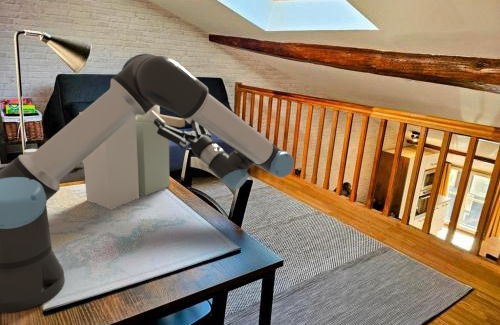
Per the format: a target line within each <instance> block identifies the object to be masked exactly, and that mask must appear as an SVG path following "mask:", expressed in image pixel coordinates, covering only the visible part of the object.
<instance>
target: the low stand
mask: <svg viewBox="0 0 500 325" xmlns="http://www.w3.org/2000/svg"><path fill="white" fill-rule="evenodd" d="M165 125H166V124H165ZM168 126H170V125H168ZM158 129H159V128H158V127H157V126H156V125H155V124H154V123H153V122H140V121H137V118H136V138H137V161H138V184H139V195H142V196H148V195H151V194H153V193H156V192H157V191H161V190H164V189H166V188H168V187H170V186H171V185H170V140H168V139H166V138H164V137H163V136H161V135H159V134H157V131H158Z"/></svg>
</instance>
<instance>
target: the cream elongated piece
mask: <svg viewBox="0 0 500 325" xmlns="http://www.w3.org/2000/svg"><path fill="white" fill-rule="evenodd" d="M152 110H153V111H154V112H155V113H156V114H157V115H158V116H159V117H160V118H161V119H162V120H163V121H165V122H166V125H169V126H170V127H175V128H183V127H185V126H186V125H185V124H186V120H185V119H183V118H182V117H176V116H171V115H164V114H161V109H160V106H158V105H155V106H154V107H152V108H151V109H150V110H149V111H148V112H147V113H146V114H144V115H136V118H137V121H140V122H153V121H152V120H151V119H150V118H149V115H150V112H151V111H152Z"/></svg>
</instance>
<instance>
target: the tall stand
mask: <svg viewBox="0 0 500 325" xmlns="http://www.w3.org/2000/svg"><path fill="white" fill-rule="evenodd" d="M82 112H83V111H79V112H78V113H79V114H80V113H82ZM79 114H78V115H79ZM83 161H84V167H83V170H84V171H83V172H84V180H85V182H84V183H85V192H86V201H88V200H89V201H88V202H90V201H92V202H91V203H93V202H94V203H93V204H95V203H97V204H96V205H98V204H99V205H98V206H100V205H101V207H103V206H104V208H105V207H106V208H105V209H108V210H112V209H115V208H117V206H118V207H120V206H123V205H125V204H127V203H130V202H133V201H136V200H138V199H140V193H139V184H138V161H137V138H136V115H134V116H133V117H132V118H131V119H130V120H128V121H127V122H126V123H125V124H124V125H123V126H122V127H120V128H119V129H118V130H117V131H116V132H115V133H114V134H112V135H111V136H110V137H109V138H108V139H107V140H106V141H104V142H103V143H102V144H101V145H100V146H99V147H98V148H96V149H95V150H94V151H93V152H92V153H91V154H90V155H88V156H87V157H86V158H85V159H84V160H83ZM135 199H136V200H135ZM122 204H123V205H122ZM114 207H115V208H114Z"/></svg>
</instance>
